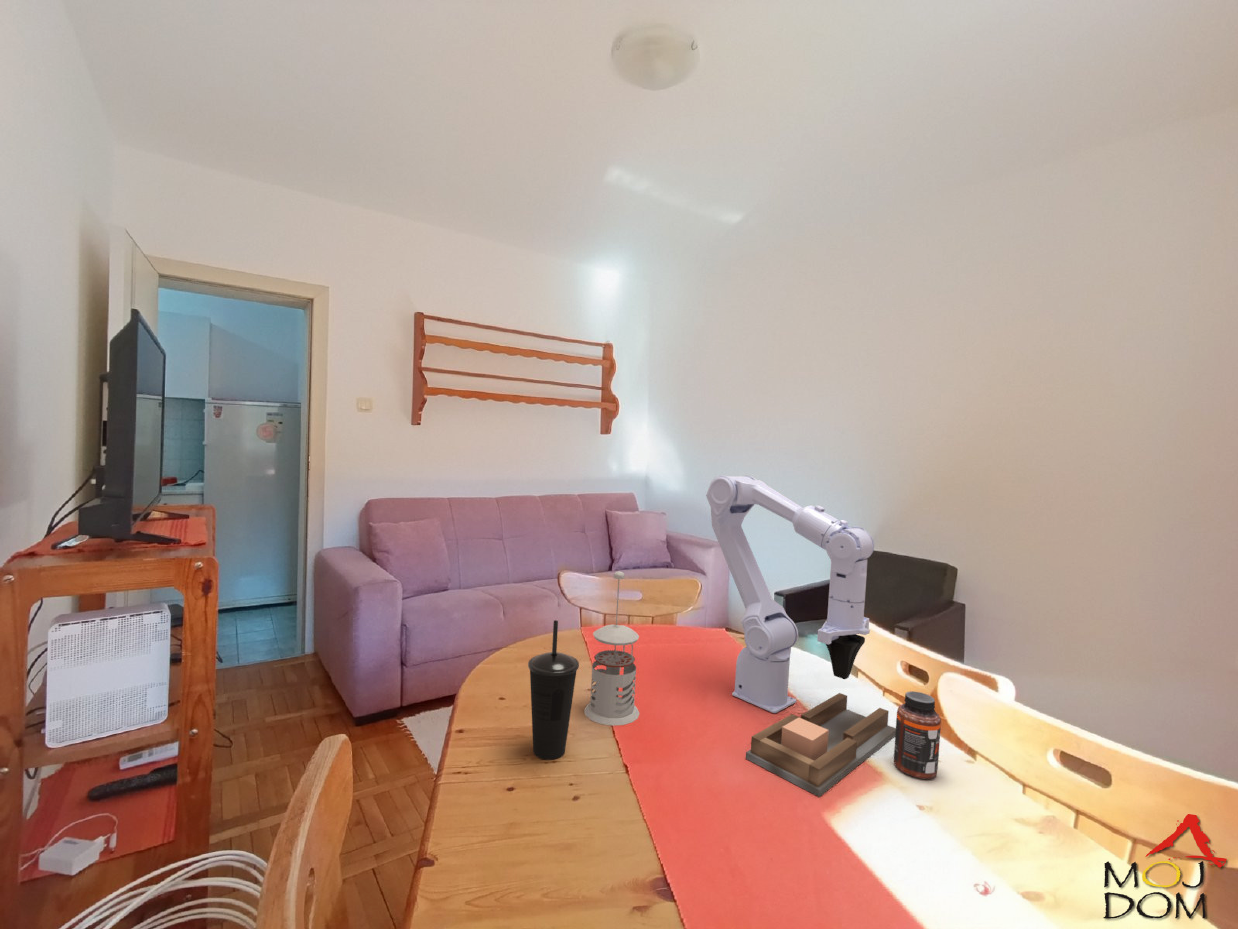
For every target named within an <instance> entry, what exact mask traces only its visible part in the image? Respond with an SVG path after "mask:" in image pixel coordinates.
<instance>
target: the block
mask: <svg viewBox="0 0 1238 929" xmlns="http://www.w3.org/2000/svg"><path fill="white" fill-rule="evenodd" d="M828 733H829V730H827V729H825V728H823V727H820V726H818V725H815V724H813V723H811V722H808V721H806V720H804V719H801V717H800V718H797V719H795V720H793V721H792V722H790V723H788V724H786V725H785V726H783V727H782V738H781V745H782V746H785V747H787V748H789V749H791V750H793V751H795V752H797V753H799V754H801V755H803V756H806V757H808V758H810V759H812V760H814V761H815V760H816V759H818V758H819V757H820V756H822V755H823V754H825V753H826V752H827V748H828Z"/></svg>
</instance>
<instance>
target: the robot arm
mask: <svg viewBox="0 0 1238 929" xmlns="http://www.w3.org/2000/svg"><path fill="white" fill-rule="evenodd" d="M705 496H706V499H707V501H708V504H709V506H710V515H711V516H710V517H711V528H712V529H713V532H714V535H715V537H716V539H717V542H718V544H719V547H720V550H721V552H722V554H723V557H724V559H725V562H726V564H727V566H728V570H729V571H730V574H731V577H732V579H733V581H734V585H735V586H736V589H737V591H738V594H739V596H740V598H741V601H742V603H743V606H744V608H745V610H744V613H743V616H742V617H741V620H740V621H741V624H742V628H743V634H744V637H743V639H744V643H745V647H744V648H742V649H741V650H740V652H738V653H739V654H737V655H738V656H737V658H736V664H735V681H734V691H733V692H732V693H731V695H732V696H733V697H736V698H738V699H741V701H745V702H747V703H749V704H752V705H754V706H755V707H759V708H761V709H762V710H763V709H764V710H766V711H768V712H771V713H773V714H777V713H779V712H781V711H782V710H784V709H786V708H788V707H789V706H791V705H793V704H795V703H797V698H794V697H792V696H789V695H788V694H789V691H788V690H789V679H790V677H789V676H790V664H791V661H790V660H791V653H792V648H793V647H794V646H796V644H797V642H798V639H799V630H798V627H797V625H796V623H795V622H794V621H793V619H791V617H789V615H788V614H787V613H786V609H785V608H784V606H782V605H781V604H779V603H778V602H777V601H775V600H774V599H773V597H772V595H771V592H770V591H769V590H770V589H769V587H768V586H767V583H766V581H765V579H764V576H763V574H762V572H761V569H760V567H759V564H758V561H757V560H756V558H755V555H754V552H753V551H752V548H751V545H750V543H749V541H748V538H747V536H746V535H745V532H744V530H743V527H742V524H743V522H744V519H745V517H746V516H747V515H748V513H749V512H750V511H751V510H752V508H753V507H754V506H755V505H758V506H760V507H762V508H764V509H766V510H768V511H770V512H771V513H773V514H775V515H777V516H779V517H781V518H783V519H784V520H786V521H789V522H791V524H792V525H793V529H794V532H795V533H796V534H798V535H799V536H800V537H803V538H805V539H806V540H808V541H809V542H811V543H813V544H814V545H816V546H818V547H819V548H821V549H823V550H825V552H826V553H827V555H828V557H829V559H830V571H829V572H830V575H829V589H828V606H827V618H826V620H825V622H824V623H823V625H822V626H821V627H820V628H819V629H817V639H816V640H817V642H819V643H822V644H825V646H826V648H827V650H828V654H829V656H830V661H831V668H832V672H833V676H834V677H837V678H839V679H843V680H847V679H849V677H850V675H851V673H852V669H853V666H854V663H855V660H856V658H857V655H858V653H859V651H860V650H861V648H862V647H863V645H864V644H865V641H866V637H864V636H866V635H869V634H870V632H871V630H870V618H868V617H865V602H866V590H867V589H866V588H867V574H868V573H867V571H868V558H870V557H871V555H872V554H873V552H874V551H875V543H874V542H875V541H874V538H873V537H872V534H870V533H869V532H868V531H866V530H865V529H864V528H863V527H862V526H851V527H850V526H849V522H848V521H847V520H845V519H842V520H839V519H838V518H836V517H835V516H832V515H830V514H829V513H827V512H825V511H826V508H825V507H823V506H821V505H815V506H814V505H807V506H805V507H802V506H800V505H799V504H797V503H796V502H794V501H793V500H791V499H790V498H788V497H786V496H785V495H783V494H782V493H780V492H778V491H777V490H775V489H774V488H772V487H770V486H769V485H768V484H766V483H765V482H764V481H763V480H759V479H756V478H755V477H753V476H751V475H743V476H739V475H737V476H736V475H734V476H733V475H730V476H729V475H728V476H727V475H724V474H722V475H718V476H716V477H714V478H713V479H712V480H711V482H710V484H709V487H708V490H707V492H706V495H705ZM862 635H863V636H862Z"/></svg>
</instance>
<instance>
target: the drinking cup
mask: <svg viewBox="0 0 1238 929" xmlns="http://www.w3.org/2000/svg"><path fill="white" fill-rule="evenodd" d="M552 626H553V627H552V628H553V629H552V645H551V648H552V649H551V652H545V653H541V654H538V655H535V656H533V657H532V658H530V659H529V661H528V663H527V666H528V669H529V678H530V679H529V681H530V702H531V703H530V704H531V725H532V726H531V727H532V730H531V731H532V752H533V755H534V756H535V757H536V758H538V759H541V760H545V761H546V760H548V761H551V760H556V759H559V758H562V757H563V756H564V755H565V753H566V749H567V748H566V746H567V739H568V734H569V726H570V719H571V713H572V712H571V711H572V704H573V698H574V691H575V684H576V677H577V676H576V675H577V671H578V670H579V667H580V662H579V660H578V659H577V658H575V657H574V656H572V655H569V654H566V653H563V652H560V651H559V652H558V651H557V650H558V649H557V648H558V631H559V630H558V629H559V627H558V626H559V620H557V619H556V620H553V625H552Z"/></svg>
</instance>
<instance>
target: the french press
mask: <svg viewBox="0 0 1238 929" xmlns="http://www.w3.org/2000/svg"><path fill="white" fill-rule="evenodd" d="M613 579H615V580H616V579H617V580H618V581H617V594H616V595H617V596H616V598H617V599H616V614H615V615H616V616H615V624H606V625H605V626H602V627H599V628H597V629H596V630H594V632H593V633H592V636H593V637H594V639H595V640H596V641H597V642H598V643H601V644H605V645H608V646H609V645H610V646H614V650H611V649H608V650H607V649H605V650H602V651H599V652H597V653H595V655H594V660H595V661H593V663H592V665H591V683H590V684H591V686H590V700H589V703H588V704H587V705H586V706H585V708H584V710H583V712H584V715H585V716H586V717H587V718H588V719H589V721H592V722H595V723H597V724H600V725H605V726H611V727H613V726H624V725H627V724H631V723H634V721H636V720H638V719H639V716H640V711H639V709H638V707H637V706H636V705H635V702H636V701H635V696H636V691H635V690H636V681H637V680H636V678H637V677H636V674H637V666H636V665H635V663H634V662H635V660H636V658H635V656H634V655H633V652H634V651H633V649H634V647H633V646H634V644H635V643H637V641H638V640H639V638H640V635H639V634H638V633H637V632H636V631H635V630H634V629H632V628H630V627H628V626H626V625H623V624H622V625H619V624H618V615H619V614H618V613H619V612H618V611H619V594H620V593H619V592H620V580H624V579H625V573H624V572H623V571H620V570H618V571H615V572H614V574H613ZM629 645H630V646H631V651H630V652H631V653H629V652H625V649H626V646H629ZM617 646H623V647H622V650H620V649H619V650H617V648H616V647H617ZM598 666H604V667H606V669H605V668H597V667H598ZM595 668H597V669H595ZM622 668H623V672H622V673H623V674H620V672H621V669H622ZM619 689H622V691H620V690H619ZM593 690H594V691H593Z"/></svg>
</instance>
